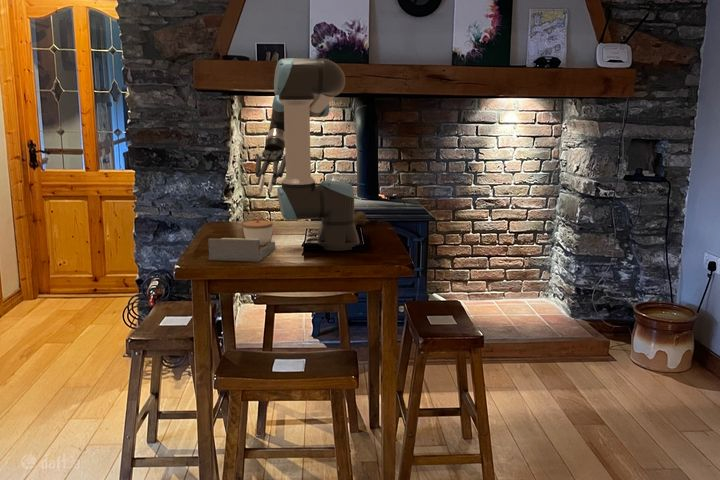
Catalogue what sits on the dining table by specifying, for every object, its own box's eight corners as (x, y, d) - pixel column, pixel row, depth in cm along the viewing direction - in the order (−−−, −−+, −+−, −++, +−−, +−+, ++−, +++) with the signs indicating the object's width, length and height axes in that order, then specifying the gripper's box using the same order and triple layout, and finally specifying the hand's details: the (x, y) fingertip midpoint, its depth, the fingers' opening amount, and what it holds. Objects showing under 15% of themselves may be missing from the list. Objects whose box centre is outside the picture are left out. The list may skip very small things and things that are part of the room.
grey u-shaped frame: (275, 248, 228) (274, 229, 226) (259, 261, 210) (258, 240, 208) (229, 247, 230) (228, 228, 229) (209, 260, 213) (208, 239, 211)
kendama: (332, 223, 276) (374, 225, 267) (321, 228, 268) (364, 230, 259) (332, 209, 275) (374, 211, 266) (320, 213, 267) (363, 216, 258)
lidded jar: (267, 247, 230) (266, 221, 228) (239, 246, 232) (238, 220, 230) (277, 241, 240) (276, 216, 238) (250, 240, 243) (248, 215, 241)
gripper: (297, 149, 257) (287, 196, 244) (258, 149, 259) (247, 196, 247) (293, 136, 250) (283, 184, 238) (253, 136, 253) (241, 184, 240)
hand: (264, 190), depth 242 cm, fingers open, 3 cm apart
